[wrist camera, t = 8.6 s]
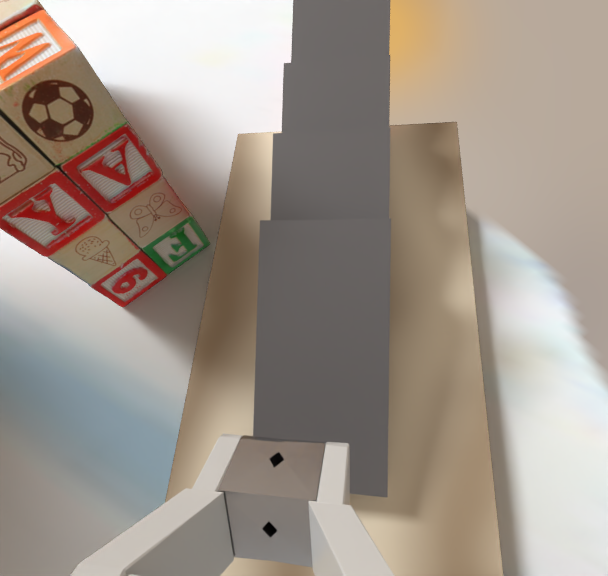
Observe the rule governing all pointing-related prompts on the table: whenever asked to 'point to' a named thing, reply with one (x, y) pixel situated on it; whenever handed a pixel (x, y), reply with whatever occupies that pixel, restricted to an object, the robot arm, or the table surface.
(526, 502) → the table surface
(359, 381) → the domino
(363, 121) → the domino
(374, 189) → the domino
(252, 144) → the domino board
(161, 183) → the stack of blocks
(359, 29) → the domino
